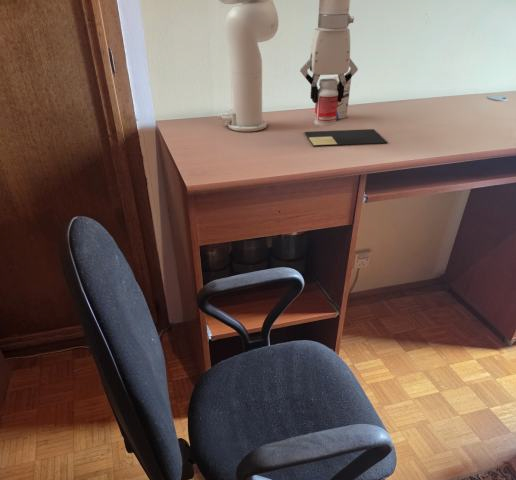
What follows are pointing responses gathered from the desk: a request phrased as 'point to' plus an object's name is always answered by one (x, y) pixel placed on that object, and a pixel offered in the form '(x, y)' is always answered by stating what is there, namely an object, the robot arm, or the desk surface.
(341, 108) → the ink box
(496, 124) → the desk surface
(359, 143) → the desk mat
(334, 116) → the pill bottle
